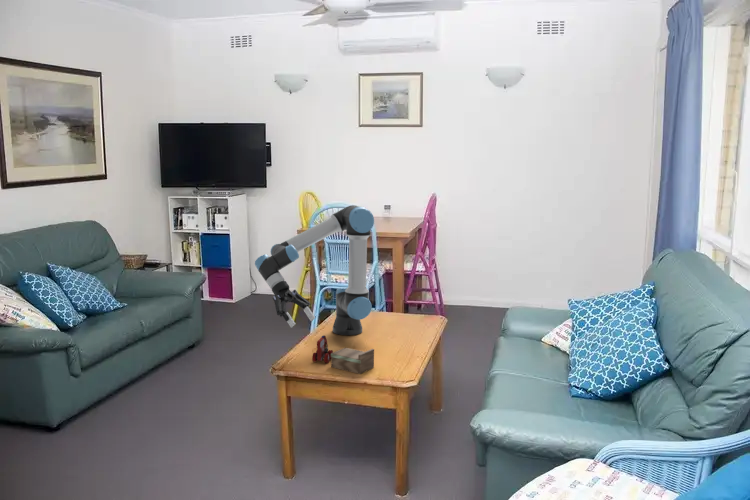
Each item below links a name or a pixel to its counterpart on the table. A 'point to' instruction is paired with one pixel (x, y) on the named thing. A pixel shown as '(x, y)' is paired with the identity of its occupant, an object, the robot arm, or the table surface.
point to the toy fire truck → (322, 351)
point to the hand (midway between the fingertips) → (303, 322)
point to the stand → (353, 360)
